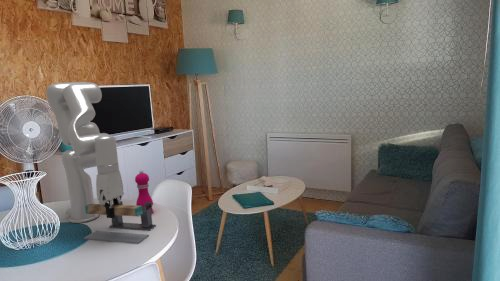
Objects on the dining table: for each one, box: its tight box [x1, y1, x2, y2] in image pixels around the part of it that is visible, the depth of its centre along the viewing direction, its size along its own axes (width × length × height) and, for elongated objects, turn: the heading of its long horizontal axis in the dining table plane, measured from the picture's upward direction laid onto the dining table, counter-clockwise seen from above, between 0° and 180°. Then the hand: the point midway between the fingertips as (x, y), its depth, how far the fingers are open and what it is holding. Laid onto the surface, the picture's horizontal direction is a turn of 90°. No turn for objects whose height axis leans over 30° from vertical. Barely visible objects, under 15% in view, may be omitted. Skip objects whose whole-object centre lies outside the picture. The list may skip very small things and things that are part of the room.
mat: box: [83, 230, 150, 245], centre depth 146 cm, size 24×7×1 cm, turn 73°
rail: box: [85, 203, 143, 217], centre depth 144 cm, size 23×3×3 cm, turn 73°
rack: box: [108, 200, 157, 232], centre depth 155 cm, size 19×5×10 cm, turn 73°
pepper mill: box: [134, 169, 154, 214], centre depth 171 cm, size 7×7×20 cm
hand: (114, 215), depth 145 cm, fingers closed on rail, 3 cm apart
